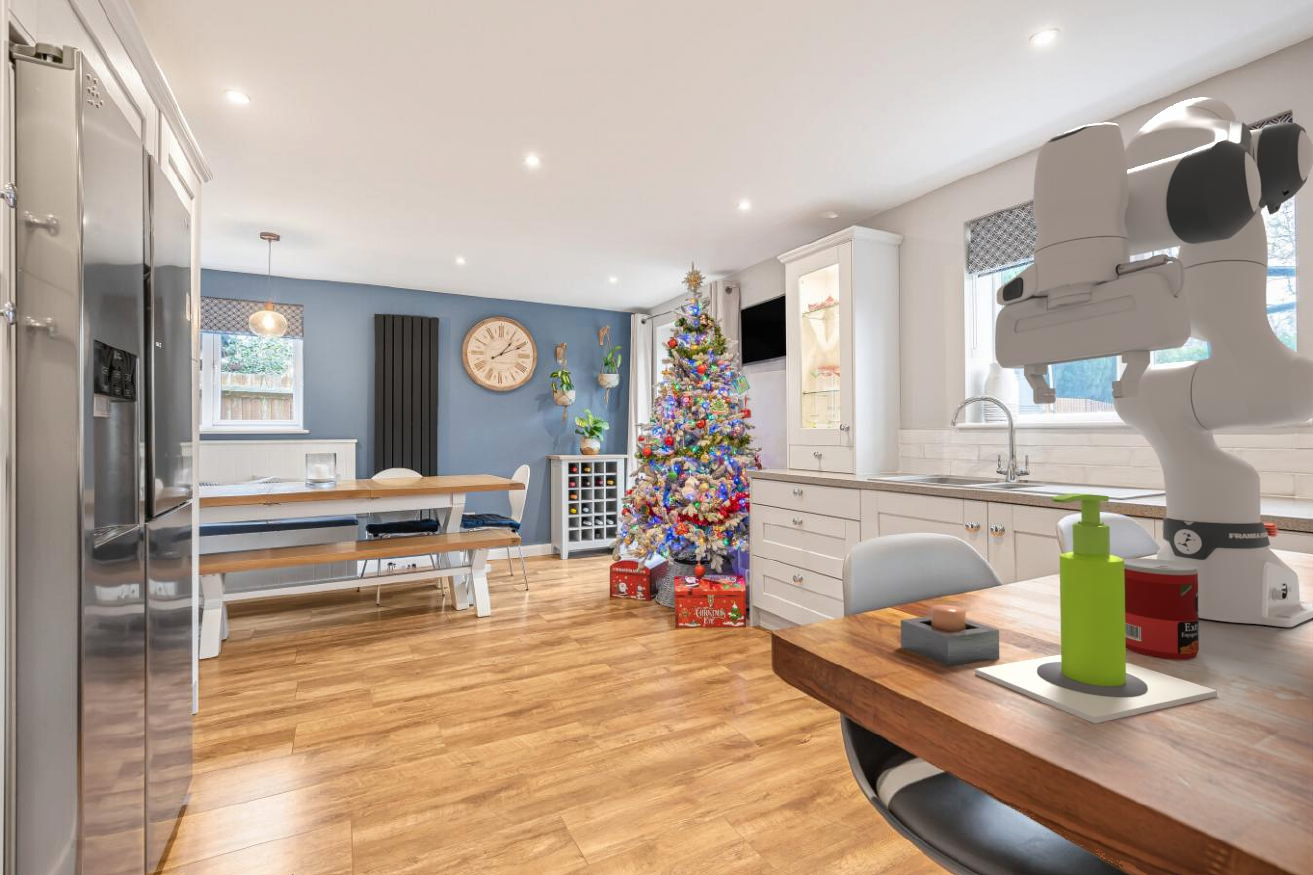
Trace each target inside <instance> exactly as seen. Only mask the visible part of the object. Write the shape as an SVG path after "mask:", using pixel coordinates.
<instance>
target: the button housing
mask: <svg viewBox="0 0 1313 875" xmlns="http://www.w3.org/2000/svg"><path fill="white" fill-rule="evenodd" d="M900 648H903V649H905V650H907V651H909V652H913V654H917V655H918V656H922V657H924V658H926V659H929V660H932V661H933V662H936V663H938V664H940V665H943V666H945V667H946V668H947V667H948V668H949V667H954V666H955V667H956V666H960V665H961V666H962V665H963V666H964V665H968V664H969V665H970V664H974V663H980V662H986V661H992V660H999V659H1000V630H999V629H997V628H994V627H991V626H988V625H984V624H982V623H979V622H975V621H972V620H969V619H966V630H962V631H955V632H945V631H943V630H940V629H937V628H934V627H931V615H928V616H921V617H915V618H907V619H900Z"/></svg>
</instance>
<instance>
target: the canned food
mask: <svg viewBox="0 0 1313 875" xmlns="http://www.w3.org/2000/svg"><path fill="white" fill-rule="evenodd" d="M1123 559H1124V576H1125V642H1126V650H1128V651H1130V652H1132V653H1136V654H1139V655H1142V656H1146V657H1151V658H1157V659H1163V660H1172V661H1188V660H1194V659H1196V657H1197V656H1198V653H1199V651H1200V645H1199V644H1200V642H1199V641H1200V640H1199V639H1200V638H1199V637H1200V636H1199V627H1200V626H1199V618H1198V572H1197V567H1195V566H1193V565H1190V564H1186V563H1181V562H1175V561H1167V560H1158V559H1157V558H1156V559H1155V558H1138V557H1137V558H1136V557H1135V558H1131V557H1130V558H1123Z"/></svg>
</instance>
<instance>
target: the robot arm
mask: <svg viewBox="0 0 1313 875" xmlns="http://www.w3.org/2000/svg"><path fill="white" fill-rule="evenodd" d="M1312 167H1313V142H1312V139H1311V138H1310V137H1309V135H1308V134H1307V132H1306V129H1305V128H1304V127H1303V126H1302V125H1300V124H1298V123H1296V122H1282V123H1273V124H1268V125H1267V124H1266V125H1264V126H1263V128H1259V129H1257V128H1256V129H1251V130H1250V128H1249V127H1248V125H1247V124H1246V123H1244V121H1239V120H1237V119H1236V115H1235V112H1234V111H1233V109H1232V107H1230V106H1229V105H1228V104H1227V103H1225V102H1224V101H1222V100H1220V99H1217V98H1214V97H1197V98H1192V99H1191V98H1190V99H1187V100H1184V101H1180V102H1179V103H1176V104H1174V105H1173V106H1170V107H1168V108H1166V109H1165V110H1163V111H1161V112H1160V113H1158V114H1157V115H1155V116H1154V117H1153V118H1152V119H1149V121H1148V122H1147V123H1145V124H1144V125H1143V126H1142V127H1140V129H1139V130H1138V131H1137V132H1136V133H1135V134H1134V136H1132V138H1131V139H1130V140H1129V142H1128V144H1127V146H1126V148H1125V144H1124V139H1123V134H1122V131H1121V127H1120V125H1119V124H1117V123H1113V122H1108V121H1107V122H1096V123H1092V124H1087V125H1082V126H1078V127H1076V128H1073V129H1071V130H1067V131H1065V132H1063V133H1060V134H1058V135H1055V136H1053V137H1052V138H1050V139H1049V140H1048V141H1046V142H1045V143H1043V144H1042V146H1041V147H1040V150H1039V151H1038V155H1037V160H1036V165H1035V172H1034V179H1033V180H1034V181H1033V196H1032V197H1033V200H1032V202H1033V203H1032V205H1033V206H1032V211H1033V212H1032V214H1033V215H1032V216H1033V221H1034V224H1035V227H1036V230H1037V238H1036V243H1035V246H1034V250H1033V263H1031V264H1029V265H1028V266H1027V267H1026V268H1025V269H1024V270H1022V271H1021V272H1020V273H1018V274H1017V275H1016V276H1015V277H1013V278H1012V279H1010V280H1009V281H1008V282H1006V283H1004V284H1003V285H1002V286H1000V287H999V288H998V289H997V290H996V291H997V292H996V303H997V304H998V305H1000V306H1004V307H1003V308H1002V309H1000V311H999V312H998V314H997V316H996V317H997V318H996V319H995V320H996V321H995V330H994V331H995V333H994V351H995V352H994V354H995V359H996V361H997V363H998V365H999V366H1000V367H1001V368H1003V369H1011V370H1012V369H1013V370H1014V369H1018V370H1019V369H1023V376H1024V378H1025V379H1026V381H1027V383H1028V385H1029V386H1030V387H1031V389H1032V392H1033V393H1032V394H1033V395H1032V396H1033V397H1032V398H1033V400H1032V401H1033V403H1034V404H1035V405H1047V404H1048V405H1050V404H1055V402H1056V400H1057V399H1056V396H1055V395H1056V388H1054V387H1049V384H1048V382H1047V381H1046V378H1045V375H1048V366H1051V365H1057V364H1058V365H1059V364H1060V365H1061V364H1066V363H1073V362H1078V361H1079V362H1081V361H1082V362H1083V361H1087V360H1088V361H1089V360H1096V359H1104V358H1111V357H1117V356H1121V363H1122V364H1126V366H1125V367H1124V370H1123V371H1122V374H1121V376H1120V378H1119V380H1114V381H1111V389H1112V392H1111V395H1112V397H1113V404H1114V405H1113V406H1114V409H1115V412H1116V413H1117V416H1118V417H1119V418H1120V419H1121V420H1122V421H1123V422H1124V423H1125V424H1126V425H1127V426H1129V427H1131V428H1132V429H1134V430H1135V431H1136V432H1138V433H1139V434H1140V435H1141V436H1142V437H1144V439H1146V441H1147V442H1148V443H1149V445H1150V446H1151V448H1152V450H1154V452H1155V454H1156V457H1157V458H1158V460H1159V463H1160V465H1161V469H1162V472H1163V480H1164V482H1163V483H1164V490H1165V492H1164V493H1165V507H1166V508H1165V510H1166V512H1165V513H1166V516H1165V517H1163V519H1162V526H1161V530H1162V539H1163V540H1164V541H1165V544H1164V545H1163V546H1162V547H1161V548H1160V549H1158V550H1157V552H1156V559H1158V560H1167V561H1175V562H1181V563H1186V564H1190V565H1193V566H1195V567H1197V572H1198V619H1204V620H1210V621H1211V620H1212V621H1219V622H1228V623H1235V624H1237V623H1238V624H1239V623H1241V624H1255V625H1263V626H1264V625H1266V626H1273V627H1282V628H1293V627H1295V626H1297V625H1299V624H1301V623H1304V622H1306V621H1309V620H1311V619H1312V618H1313V604H1312V603H1309V602H1305V601H1301V599H1300V583H1299V578H1298V577H1299V576H1298V573H1297V572H1296V571H1294V570H1293V568H1291V566H1289V565H1288V564H1286V562H1284V561H1283V560H1282V559H1281V558H1279V556H1278V555H1277V554H1276V553H1274V551H1272V550H1271V549H1270V548H1269V546H1270V545H1271V542H1270V539H1269V537H1272V538H1273V537H1274V538H1276V537H1277V536H1278V534H1279V527H1278V525H1277V523H1271V522H1270V523H1265V522H1263V521H1262V520H1261V477H1260V474H1259V472H1258V471H1257V470H1256V468H1255V467H1254V466H1253V465H1252V464H1250V462H1249V461H1247V460H1245V459H1244V458H1241V457H1239V456H1236V455H1234V454H1232V453H1229V452H1227V451H1224V450H1222V449H1221V448H1220V447H1219V445H1218V444H1217V443H1216V441H1215V439H1214V436H1213V430H1217V431H1218V430H1263V429H1264V430H1266V429H1271V428H1276V427H1282V426H1283V427H1284V426H1290V425H1294V424H1299V423H1305V422H1307V421H1309V420H1310V419H1312V418H1313V360H1312V359H1310V357H1308V356H1306V355H1303V354H1301V353H1299V352H1297V351H1295V350H1293V349H1291V348H1290V347H1288V345H1286V344H1285V343H1284V342H1283V341H1281V339H1280V338H1279V337H1278V335H1276V333H1275V332H1274V330H1273V328H1272V326H1271V325H1270V321H1269V318H1268V309H1267V307H1268V306H1267V285H1268V284H1267V283H1268V282H1267V281H1268V280H1267V279H1268V278H1267V277H1268V267H1269V266H1268V265H1269V264H1268V262H1269V261H1268V260H1269V254H1268V252H1269V251H1268V247H1269V246H1268V237H1267V236H1268V235H1267V229H1266V226H1265V221H1264V218H1263V215H1262V210H1263V209H1265V207H1266V208H1267V211H1268V214H1269V215H1270V216H1271V215H1274V214H1275V213H1277V212H1279V211H1280V208H1281V207H1282V204H1284V203H1285V202H1287V201H1288V200H1289V199H1292V198H1293V197H1294V196H1295V195H1296V194H1297V193H1298V192H1299V191H1300V190H1301V189H1302V187H1303V186H1304V185H1305V184H1306V182H1307V180H1308V177H1309V174H1310V173H1311V169H1313V168H1312ZM1176 247H1179V248H1178V249H1179V250H1178V253H1177V257H1173V256H1168V254H1165V253H1163V254H1156V255H1153V256H1150V257H1149V258H1146V259H1141V260H1133V261H1131V257H1132V256H1138V255H1142V254H1147V253H1152V252H1157V251H1163V250H1166V249H1170V248H1171V249H1172V248H1176ZM1189 338H1193V339H1196V340H1199V341H1203V342H1207V343H1209V346H1210V354H1209V358H1204V359H1198V360H1197V359H1196V360H1187V361H1185V360H1184V361H1176V362H1175V361H1174V362H1169V363H1168V362H1167V363H1159V364H1152V365H1150V364H1151V352H1155V351H1164V350H1172V349H1178V348H1179V349H1180V348H1182V347H1184V346H1185V344H1186V343H1187V341H1188V340H1189ZM1149 365H1150V366H1149Z"/></svg>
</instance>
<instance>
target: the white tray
mask: <svg viewBox="0 0 1313 875" xmlns="http://www.w3.org/2000/svg"><path fill="white" fill-rule="evenodd" d="M974 675H976V676H979V677H980V678H983V679H986V680H988V681H990V682H993V683H995V684H998V685H1000V686H1003V687H1005V688H1007V689H1009V690H1010V689H1011V690H1012V691H1015V692H1018V693H1020V694H1021V695H1024V696H1027V697H1029V698H1031V699H1034V700H1037V701H1040V702H1042V703H1044V704H1046V705H1049V706H1051V707H1053V708H1056V709H1059V710H1061V711H1064V712H1066V713H1068V714H1070V715H1073V716H1076V717H1078V718H1080V719H1083V720H1085V721H1087V722H1090V723H1092V724H1095V725H1096V724H1100V723H1103V722H1110V721H1113V720H1117V719H1121V718H1126V717H1131V716H1136V715H1139V714H1145V713H1149V712H1153V711H1158V710H1162V709H1167V708H1172V707H1175V706H1180V705H1185V704H1189V703H1193V702H1197V701H1202V700H1208V699H1211V698H1215V697H1216V698H1217V697H1218V690H1216V689H1213V688H1211V687H1207V686H1205V685H1201V684H1198V683H1195V682H1191V681H1187V680H1184V679H1181V678H1177V677H1175V676H1171V675H1168V674H1165V673H1162V672H1158V671H1155V670H1152V669H1149V668H1145V667H1142V666H1139V665H1136V664H1133V663H1129V662H1126V683H1125V684H1124V685H1121V686H1098V685H1092V684H1087V683H1082V682H1079V681H1076V680H1073V679H1070V678H1068V677H1066V676H1065V675H1063V674H1062V672H1061V654H1056V655H1049V656H1044V657H1039V658H1033V659H1028V660H1019V661H1015V662H1007V663H1003V664H1002V663H1001V664H996V665H992V666H991V665H990V666H984V667H979V668H974Z"/></svg>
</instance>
